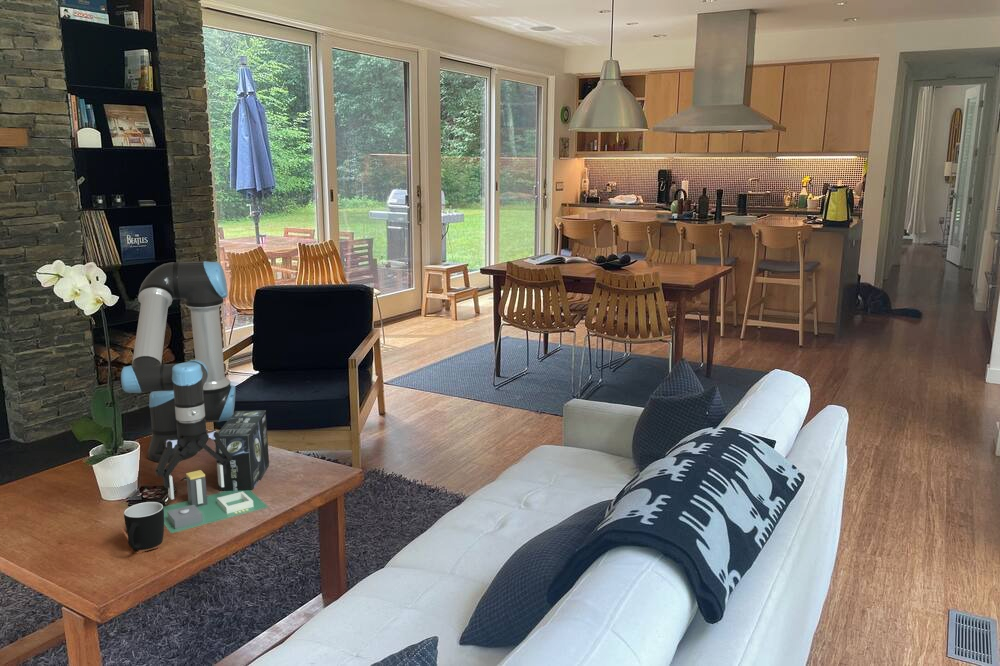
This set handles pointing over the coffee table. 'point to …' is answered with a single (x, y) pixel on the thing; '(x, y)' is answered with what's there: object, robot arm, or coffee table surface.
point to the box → (244, 449)
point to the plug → (196, 488)
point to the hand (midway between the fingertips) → (196, 491)
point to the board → (210, 509)
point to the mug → (144, 525)
